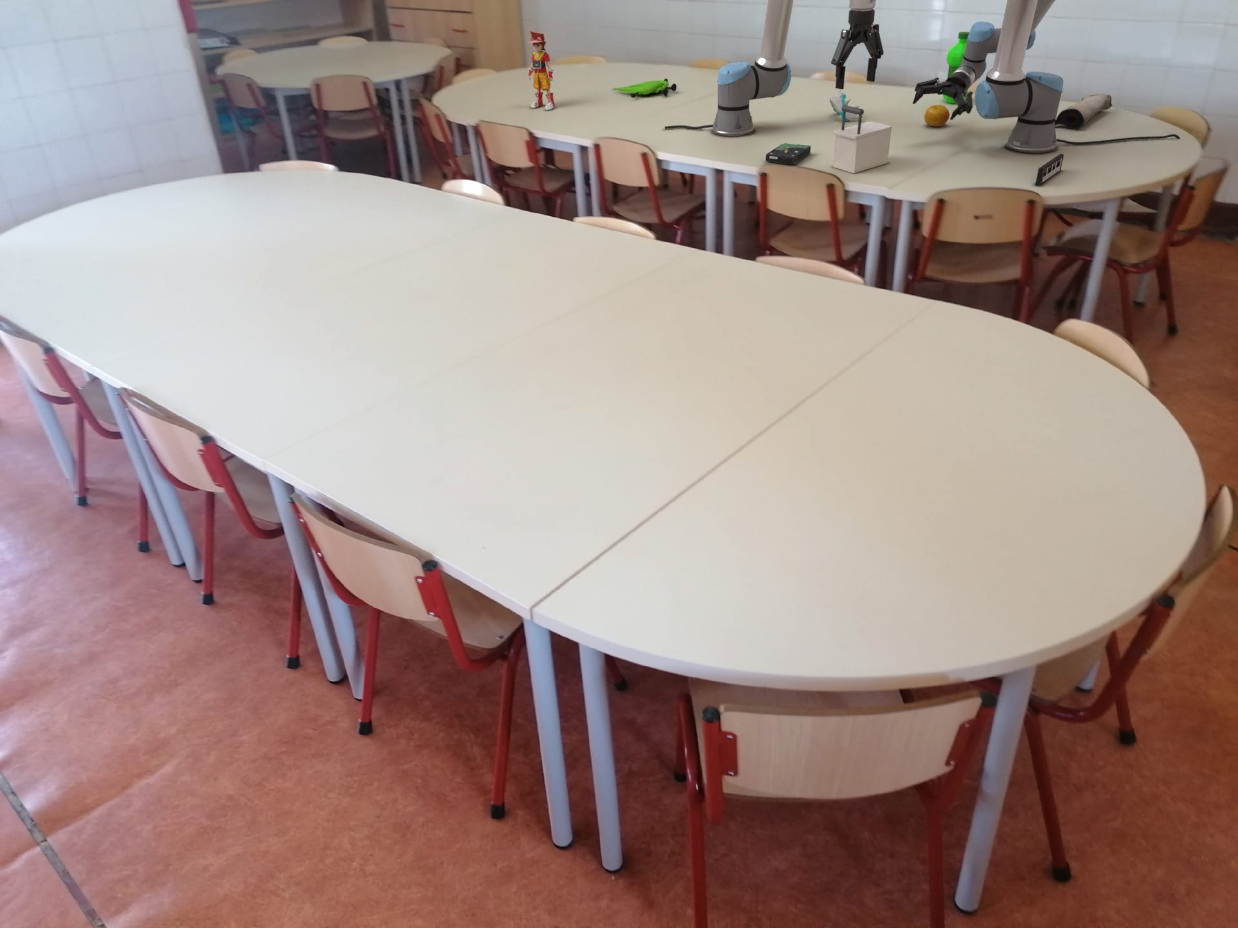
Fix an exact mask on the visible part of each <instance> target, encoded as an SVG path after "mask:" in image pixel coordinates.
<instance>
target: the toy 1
mask: <svg viewBox="0 0 1238 928" xmlns="http://www.w3.org/2000/svg"><path fill="white" fill-rule="evenodd" d="M529 33H530V35H531V36H528V37H527V38H528V39H529V40H528V41H527V43H529V44H530V43H531V44H532V48H533V50H534V51H533V52H532V55H531V58H530V59H531V63H530V66H528V74H527V75H528V76H527V77H528V79H529V80H531V75H532V74H533V84H532V85H533V86H532V87H533V88H534V89H535V90H536V92H534V95H535V97H536V100H535V101H533V102H531V105H530V108H531V109H535V108H538V107H542V106H544V101H543V100H544V99H543V95H544V92H546V94H545V97H546V99H547V103H546V104H545V106H544V110H546V111H549V110H553V109H554V107H555V106H556V105H555V99H554V92H551V91H550V90H551V86H552V84H551V82H552V81H553V80H554V77H553V73H554V71H555V70H554V69H552V68H551V63H550V61H551V59H550V58H551V57H550V54H549V53H548V52H547V50H546V48H545V46H546V44H547V41H545V35H544V33H543V32H542V33H539V32H535V31H529Z"/></svg>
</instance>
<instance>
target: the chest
mask: <svg viewBox="0 0 1238 928" xmlns="http://www.w3.org/2000/svg"><path fill="white" fill-rule="evenodd" d="M834 135H835V136H834V148H833V149H834V150H833V158H832V159H833V160H832V168H835V169H839V170H841V171H846V172H849V173H852V174H856V173H860V172H863V171H865V170H869V169H873V168H875V167H879V166H882V165H885V164H888V162H889V152H890V143H891V137H892V136H891V135H892V129H891V130H888V131H884V132H881V133H877V134H874V135H870V136H866V137H863V138H859V139H856V140H855V139H851V138H847V137H844V136H840V135H836V134H834Z"/></svg>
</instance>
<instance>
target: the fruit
mask: <svg viewBox="0 0 1238 928" xmlns="http://www.w3.org/2000/svg"><path fill="white" fill-rule="evenodd" d="M950 116H951V115H950V110H949V109H948V107H946V106H945V105H942V104H933V105H931V106H929V107H928V108H927V109H926V110H925V112H924V117H923V118H924V123H926V124H927V125H928V126H930V127H942V126H944V125H945V124H947V122H948V121H949V120H950Z"/></svg>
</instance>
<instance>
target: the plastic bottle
mask: <svg viewBox="0 0 1238 928" xmlns="http://www.w3.org/2000/svg"><path fill="white" fill-rule="evenodd" d="M969 32H970V31H959V32H958V36H957V39H958V42H957V43H956V44H954V45H953V46H952V47H951V48H950V49H949V50H948V52H947V54H946V63H947V64H948V69H947V70H948V71H947V76H946V77H947V78H949V77H950V76H951V75H952V74H953V73H954V72H955V71H956V70H957V69H958V68H959V67H960V65H961V62H962V58H963V55H964V52H965V47H966V43H967V39H968V35H969ZM947 78H946V79H947ZM966 92H967V93H969V89H968V90H967V91H966ZM942 97H943V99H944V100H945V101H946V102H947V103H948V104H957V103H956V102H954V100H953V98H951V97H948V96H946V95H943V94H942ZM963 98H964V100H965V97H964V96H963Z"/></svg>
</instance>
